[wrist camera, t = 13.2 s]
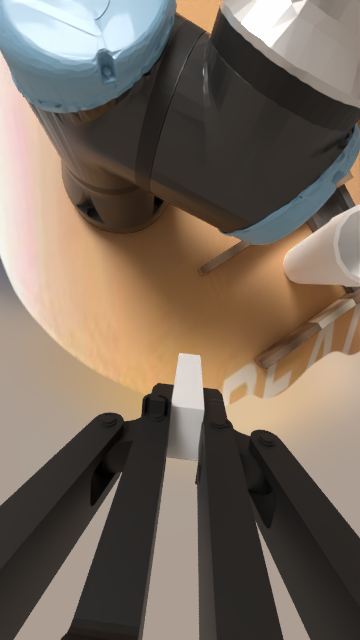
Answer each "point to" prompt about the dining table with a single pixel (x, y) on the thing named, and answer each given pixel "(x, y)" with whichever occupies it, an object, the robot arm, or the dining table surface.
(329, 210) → the lane
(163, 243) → the dining table surface
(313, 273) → the foam cup
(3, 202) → the dining table surface
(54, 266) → the dining table surface
